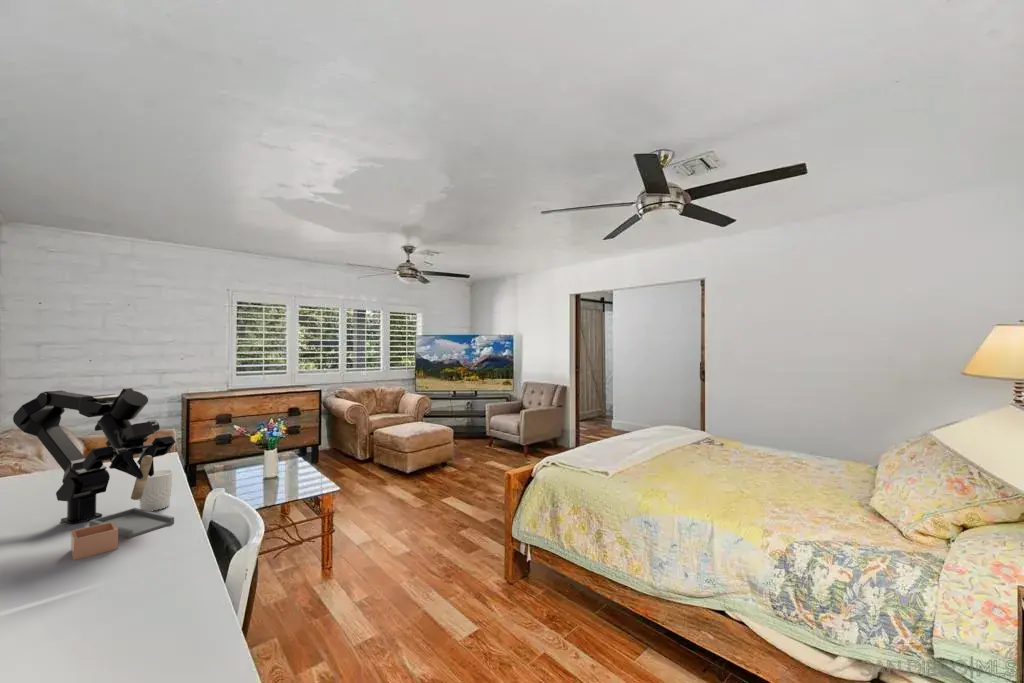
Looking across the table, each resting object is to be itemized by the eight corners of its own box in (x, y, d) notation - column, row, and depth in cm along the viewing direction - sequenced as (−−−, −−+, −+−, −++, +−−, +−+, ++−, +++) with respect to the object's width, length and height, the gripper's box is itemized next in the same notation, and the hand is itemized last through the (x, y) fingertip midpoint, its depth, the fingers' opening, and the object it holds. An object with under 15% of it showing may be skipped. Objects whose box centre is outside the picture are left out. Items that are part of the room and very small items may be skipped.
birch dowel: (128, 499, 114) (130, 454, 114) (138, 497, 116) (139, 452, 116) (144, 502, 112) (145, 456, 113) (153, 500, 114) (154, 454, 115)
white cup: (152, 513, 124) (153, 478, 124) (130, 511, 126) (130, 476, 126) (178, 504, 132) (179, 470, 132) (157, 502, 133) (158, 469, 134)
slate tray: (89, 529, 113) (89, 520, 113) (134, 515, 122) (135, 507, 122) (128, 540, 106) (128, 531, 106) (174, 525, 115) (174, 517, 115)
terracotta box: (70, 552, 100) (71, 530, 100) (113, 542, 105) (113, 521, 105) (73, 562, 95) (73, 539, 95) (117, 551, 100) (118, 529, 101)
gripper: (91, 416, 107) (120, 465, 103) (171, 407, 125) (198, 448, 121) (70, 446, 109) (97, 495, 106) (152, 433, 127) (178, 474, 123)
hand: (147, 476), depth 114 cm, fingers closed on birch dowel, 2 cm apart
